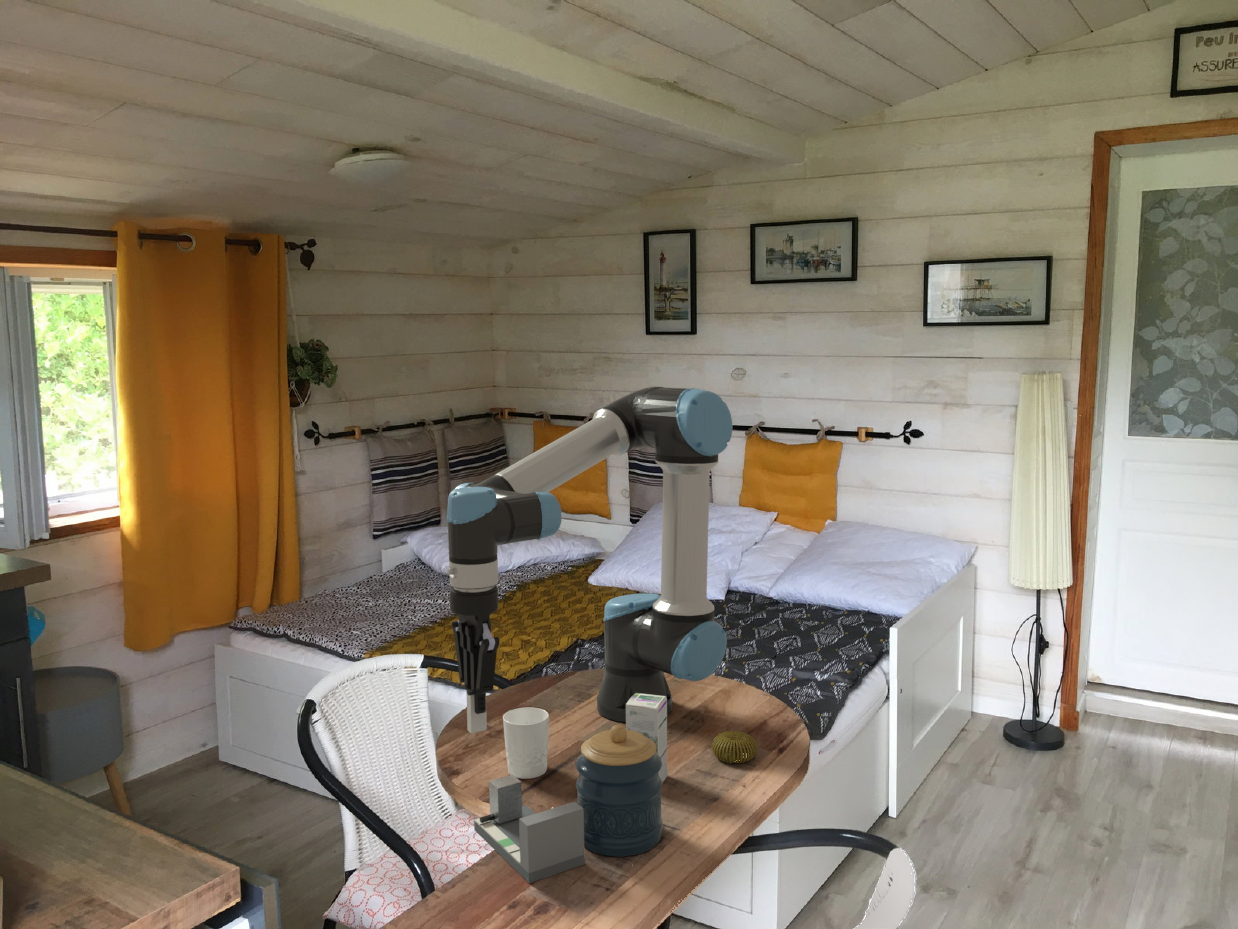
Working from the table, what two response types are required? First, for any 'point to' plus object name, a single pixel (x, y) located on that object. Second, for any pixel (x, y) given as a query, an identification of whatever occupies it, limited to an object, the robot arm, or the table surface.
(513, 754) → the white cup
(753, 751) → the green sea urchin shell
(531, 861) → the gauge base
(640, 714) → the syrup box
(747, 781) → the table surface
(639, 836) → the canister
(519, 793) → the block
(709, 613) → the robot arm
